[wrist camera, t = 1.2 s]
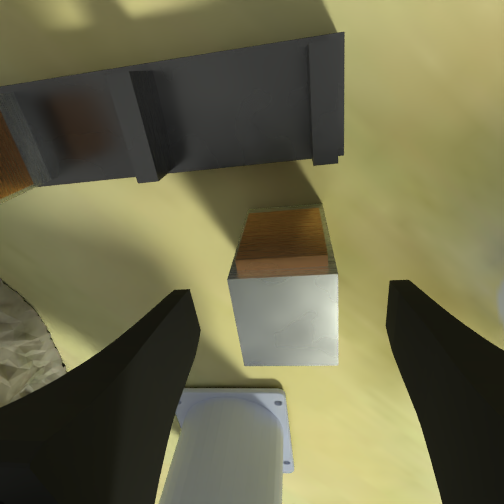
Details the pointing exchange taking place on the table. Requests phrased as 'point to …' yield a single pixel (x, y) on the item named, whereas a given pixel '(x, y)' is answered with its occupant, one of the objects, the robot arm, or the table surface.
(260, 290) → the grey and orange block
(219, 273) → the table surface
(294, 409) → the table surface
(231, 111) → the rail
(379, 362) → the table surface
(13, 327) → the ceramic cottage
